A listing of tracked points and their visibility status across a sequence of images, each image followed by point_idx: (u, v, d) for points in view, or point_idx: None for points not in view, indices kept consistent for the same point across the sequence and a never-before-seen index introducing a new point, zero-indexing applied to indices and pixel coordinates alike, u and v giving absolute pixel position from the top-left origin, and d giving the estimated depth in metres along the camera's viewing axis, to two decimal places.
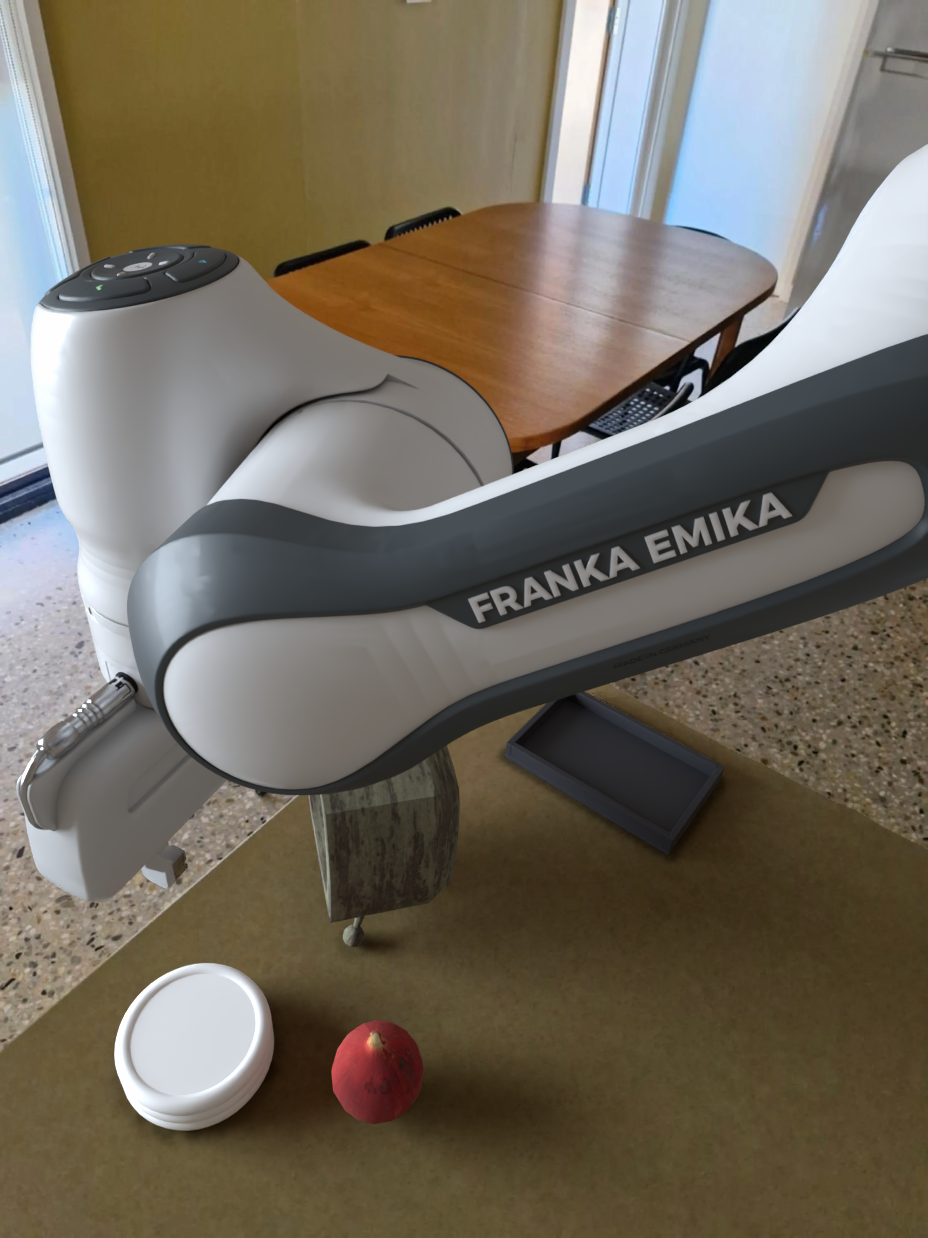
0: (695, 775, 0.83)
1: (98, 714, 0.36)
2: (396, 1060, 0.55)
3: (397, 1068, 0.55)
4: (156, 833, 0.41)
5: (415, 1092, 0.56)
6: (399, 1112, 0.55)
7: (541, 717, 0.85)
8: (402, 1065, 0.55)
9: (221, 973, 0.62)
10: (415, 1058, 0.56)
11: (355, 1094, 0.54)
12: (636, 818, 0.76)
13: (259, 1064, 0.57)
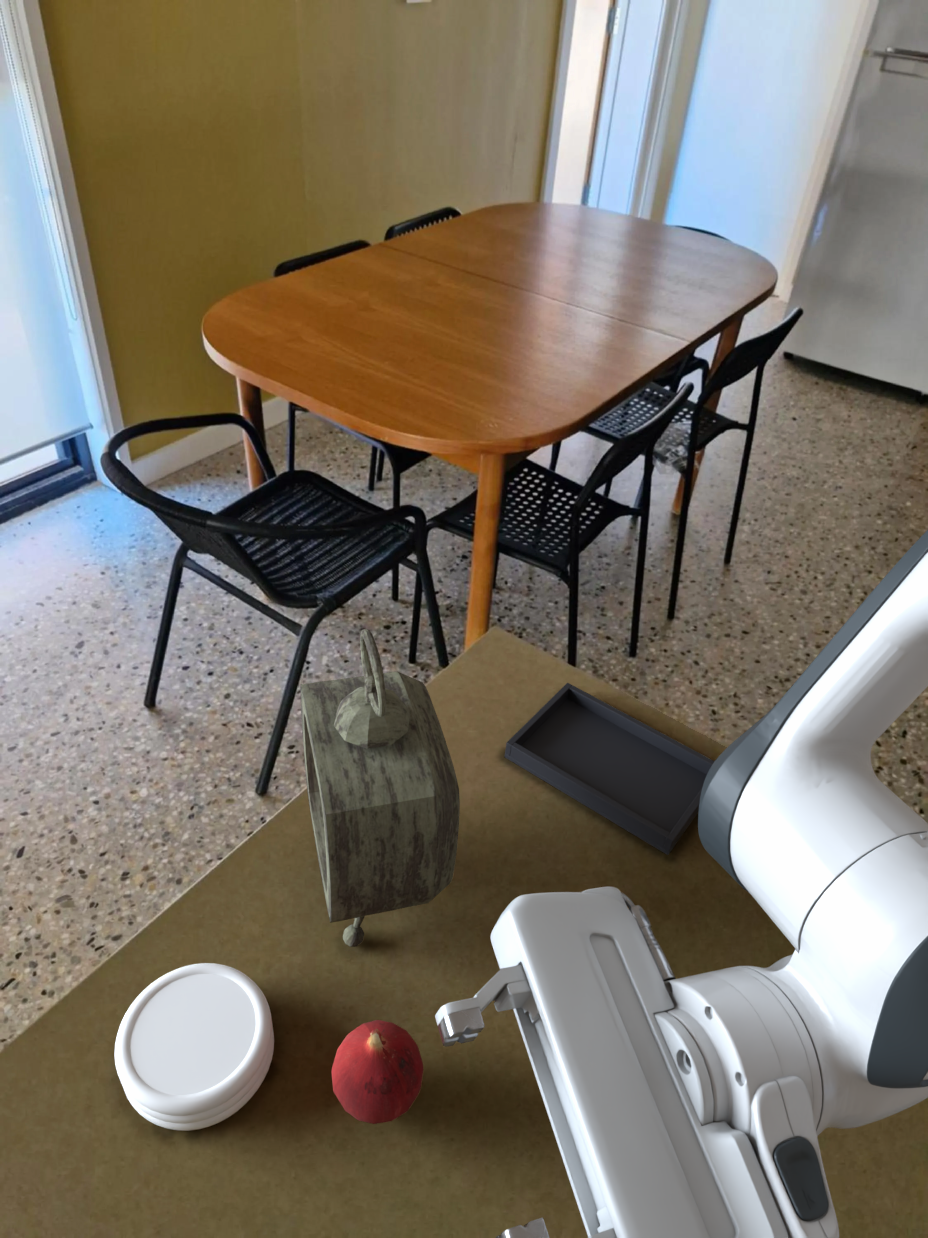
0: (695, 775, 0.83)
1: (657, 945, 0.49)
2: (396, 1060, 0.55)
3: (397, 1068, 0.55)
4: (555, 960, 0.45)
5: (415, 1092, 0.56)
6: (399, 1112, 0.55)
7: (541, 717, 0.85)
8: (402, 1065, 0.55)
9: (221, 973, 0.62)
10: (415, 1058, 0.56)
11: (355, 1094, 0.54)
12: (636, 818, 0.76)
13: (259, 1064, 0.57)
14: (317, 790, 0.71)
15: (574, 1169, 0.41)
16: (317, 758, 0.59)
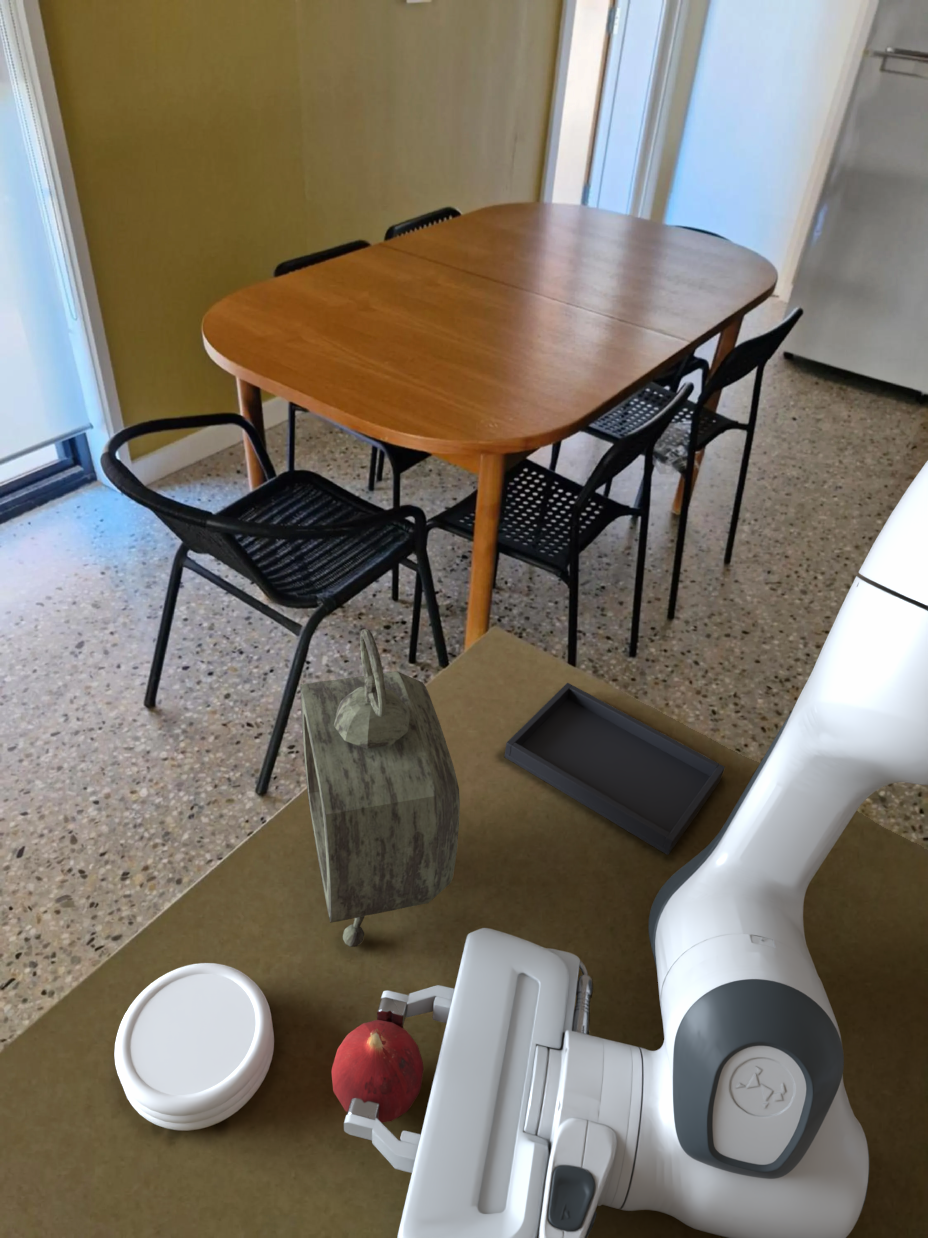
0: (695, 775, 0.83)
1: (586, 1009, 0.59)
2: (396, 1060, 0.55)
3: (397, 1068, 0.55)
4: (480, 977, 0.59)
5: (415, 1092, 0.56)
6: (399, 1112, 0.55)
7: (541, 717, 0.85)
8: (402, 1065, 0.55)
9: (221, 973, 0.62)
10: (415, 1058, 0.56)
11: (355, 1094, 0.54)
12: (636, 818, 0.76)
13: (259, 1064, 0.57)
14: (317, 790, 0.71)
15: None
16: (317, 758, 0.59)
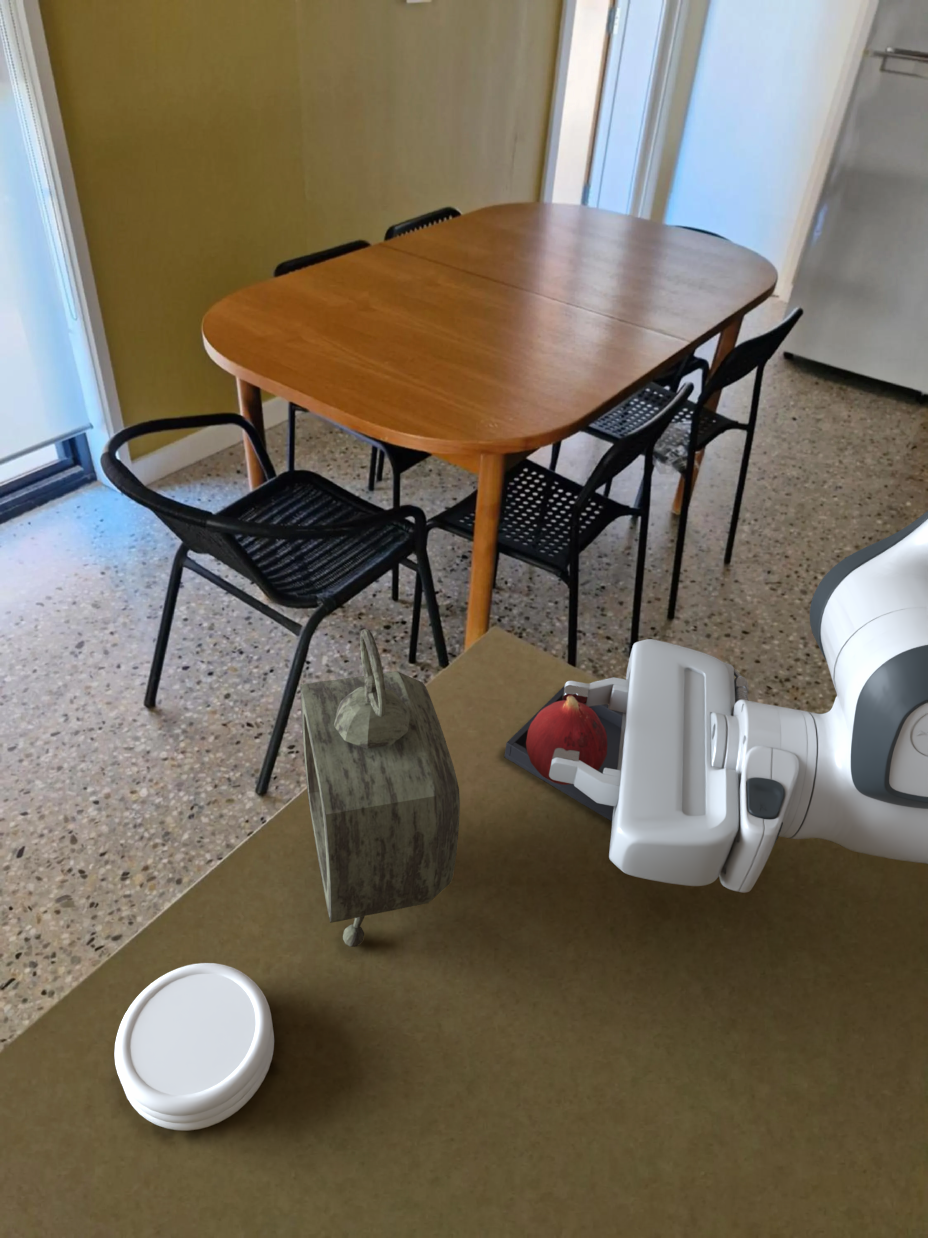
0: None
1: (746, 698, 0.67)
2: (590, 720, 0.62)
3: (591, 726, 0.62)
4: (652, 669, 0.66)
5: (603, 754, 0.63)
6: None
7: None
8: (595, 725, 0.62)
9: (221, 973, 0.62)
10: (602, 726, 0.63)
11: (555, 748, 0.61)
12: None
13: (259, 1064, 0.57)
14: (317, 790, 0.71)
15: None
16: (317, 758, 0.59)
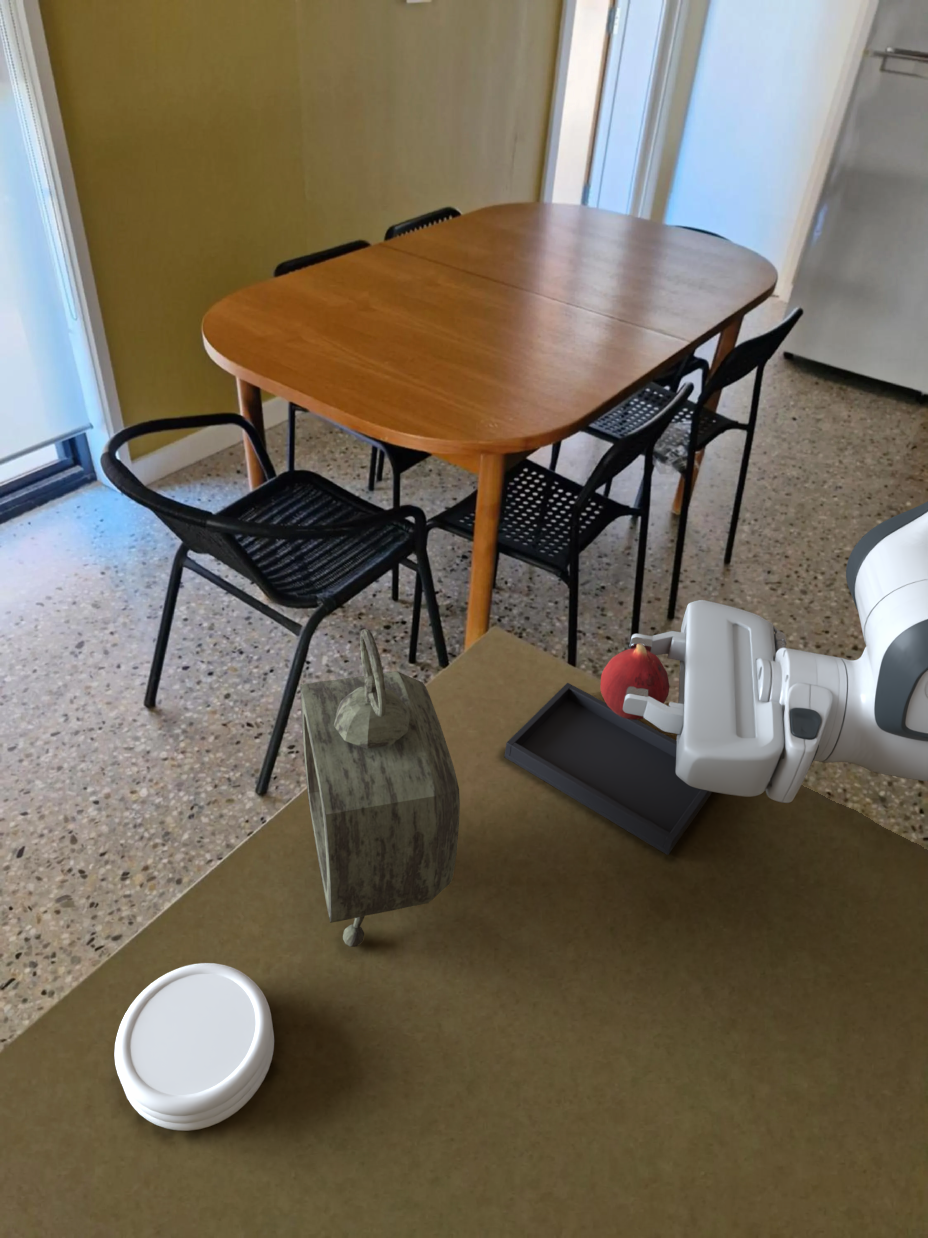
0: None
1: None
2: (656, 664, 0.74)
3: (657, 669, 0.74)
4: (705, 624, 0.79)
5: (666, 693, 0.75)
6: None
7: (541, 717, 0.85)
8: (660, 668, 0.74)
9: (221, 973, 0.62)
10: (665, 670, 0.76)
11: (627, 687, 0.74)
12: (636, 818, 0.76)
13: (259, 1064, 0.57)
14: (317, 790, 0.71)
15: None
16: (317, 758, 0.59)
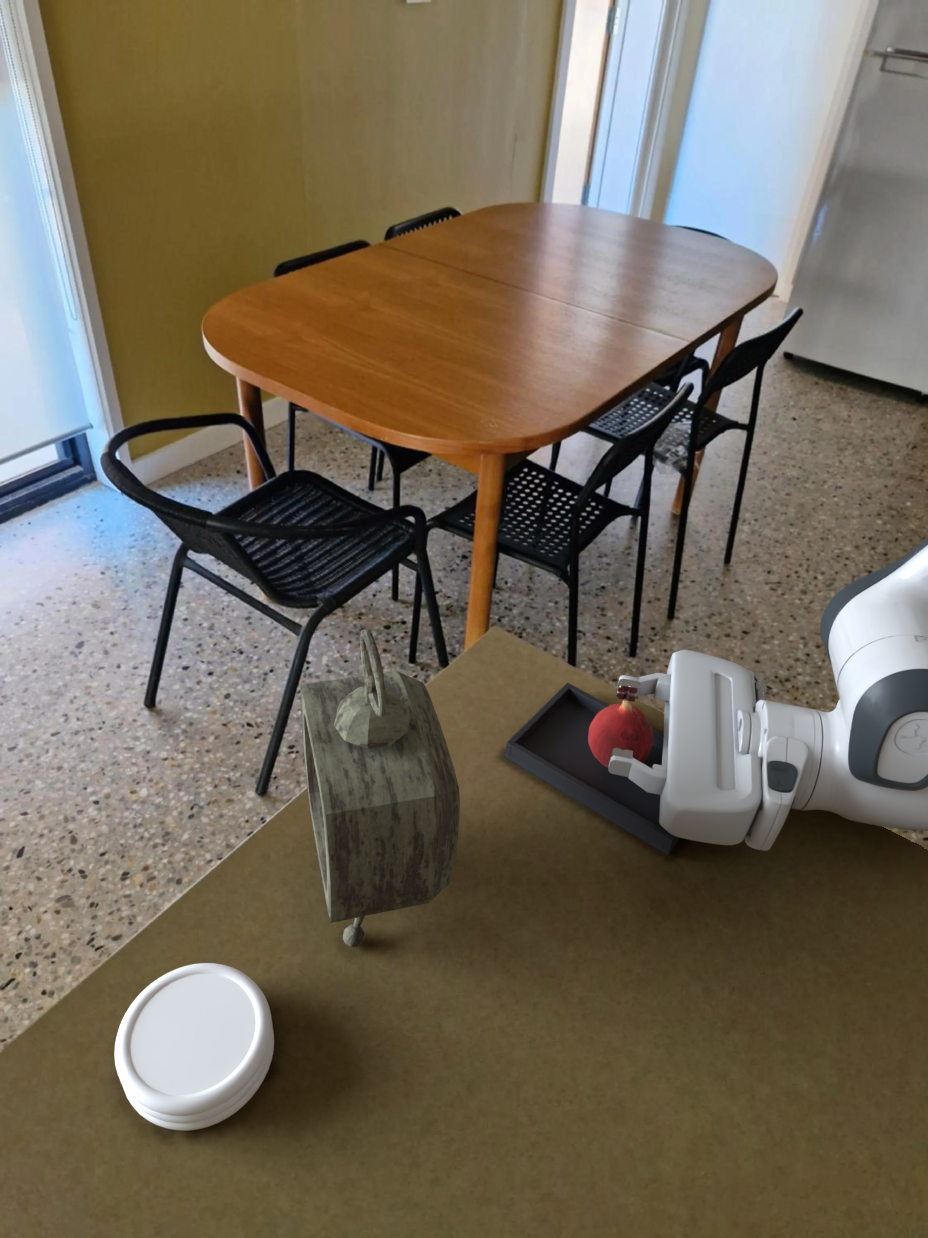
0: None
1: (764, 698, 0.82)
2: (641, 720, 0.78)
3: (641, 724, 0.78)
4: (689, 674, 0.82)
5: (650, 747, 0.79)
6: (641, 758, 0.79)
7: (541, 717, 0.85)
8: (644, 724, 0.79)
9: (221, 973, 0.62)
10: (649, 724, 0.80)
11: (613, 741, 0.78)
12: (636, 818, 0.76)
13: (259, 1064, 0.57)
14: (317, 790, 0.71)
15: (665, 760, 0.78)
16: (317, 758, 0.59)
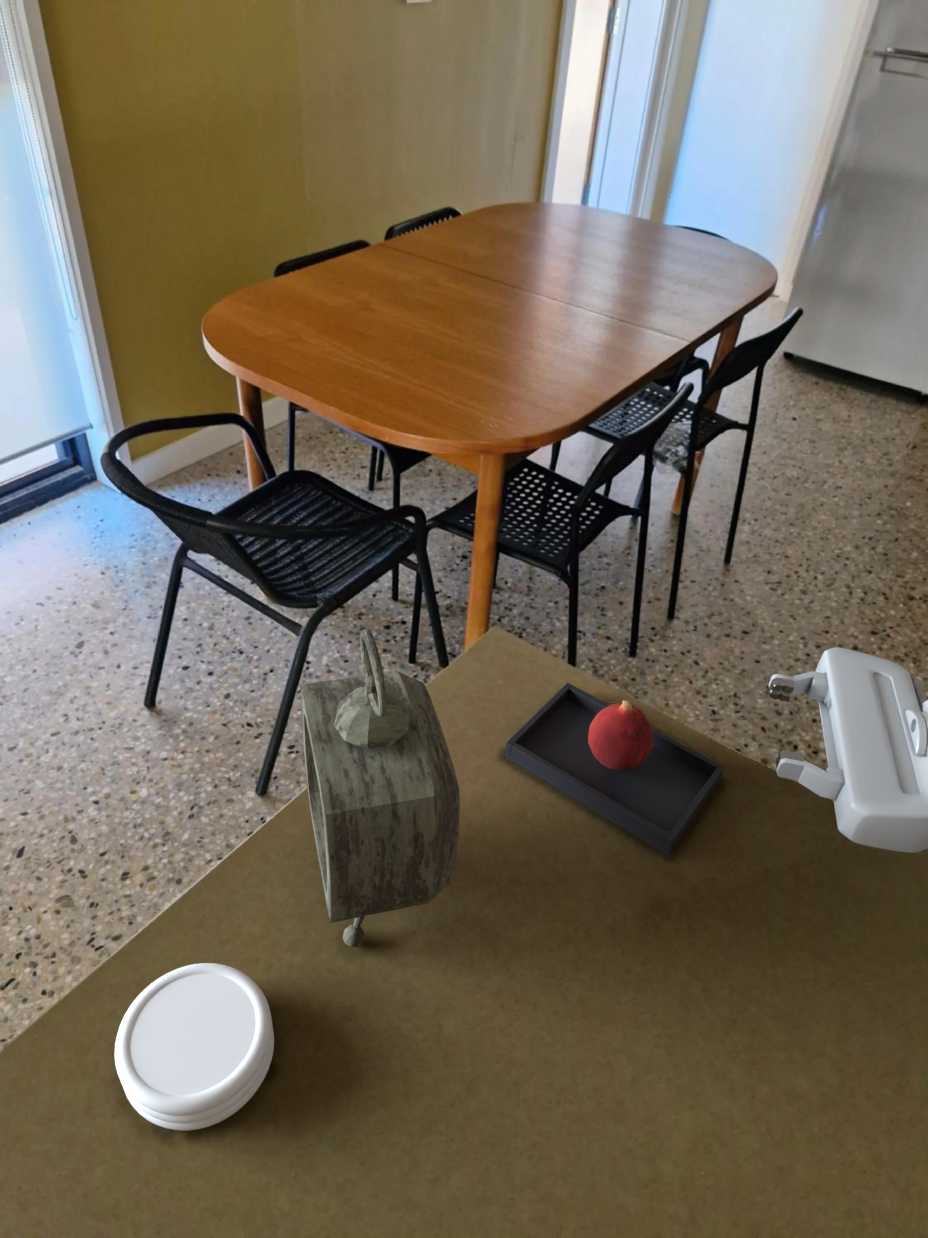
0: (695, 775, 0.83)
1: (925, 697, 0.78)
2: (641, 719, 0.78)
3: (641, 724, 0.78)
4: (847, 673, 0.78)
5: (650, 746, 0.79)
6: (641, 758, 0.79)
7: (541, 717, 0.85)
8: (644, 724, 0.79)
9: (221, 973, 0.62)
10: (649, 724, 0.80)
11: (613, 741, 0.78)
12: (636, 818, 0.76)
13: (259, 1064, 0.57)
14: (317, 790, 0.71)
15: (832, 763, 0.74)
16: (317, 758, 0.59)
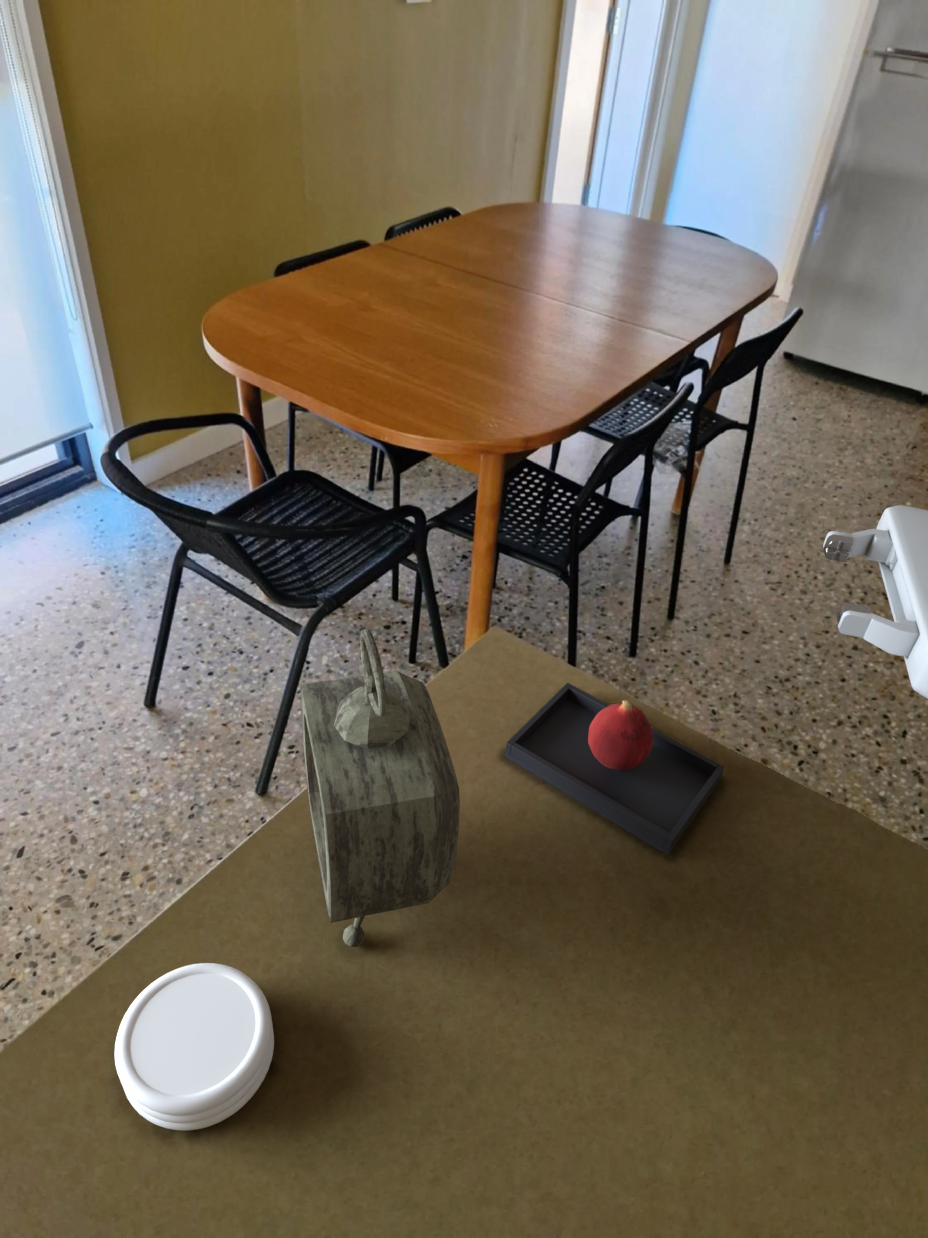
0: (695, 775, 0.83)
1: None
2: (640, 719, 0.78)
3: (641, 724, 0.78)
4: (913, 528, 0.69)
5: (650, 746, 0.79)
6: (641, 758, 0.79)
7: (541, 717, 0.85)
8: (644, 724, 0.79)
9: (221, 973, 0.62)
10: (649, 724, 0.80)
11: (613, 741, 0.78)
12: (636, 818, 0.76)
13: (259, 1064, 0.57)
14: (317, 790, 0.71)
15: None
16: (317, 758, 0.59)
